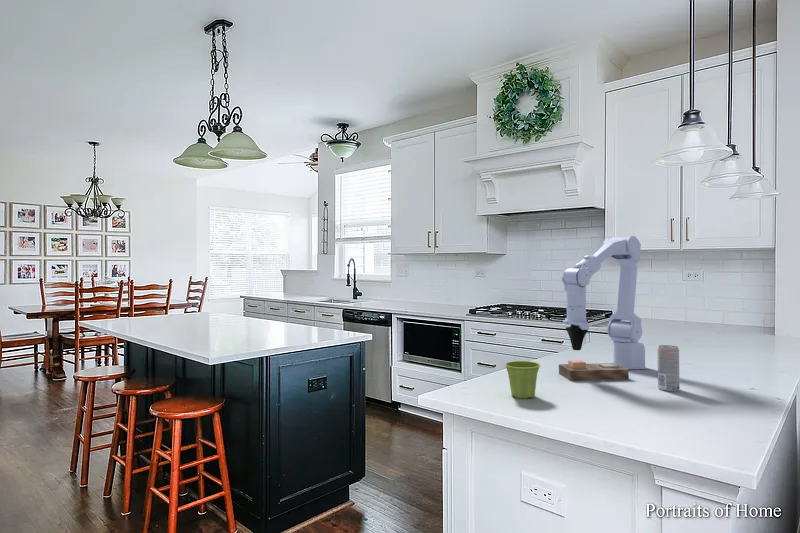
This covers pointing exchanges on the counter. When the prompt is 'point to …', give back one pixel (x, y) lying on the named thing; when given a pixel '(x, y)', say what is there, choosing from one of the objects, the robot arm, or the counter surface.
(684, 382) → the counter surface
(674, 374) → the energy drink
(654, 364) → the counter surface
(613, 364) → the white marbled block
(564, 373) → the button panel
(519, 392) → the plant pot
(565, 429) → the counter surface
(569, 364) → the terracotta button
